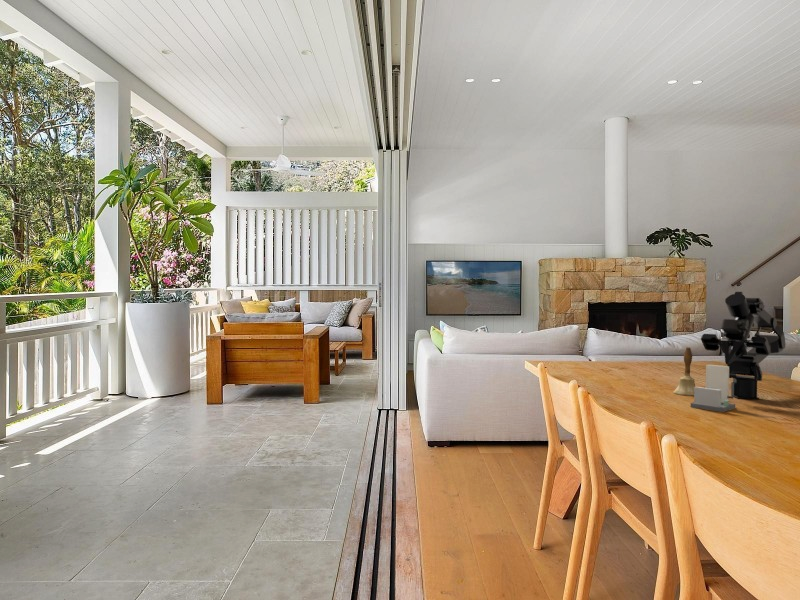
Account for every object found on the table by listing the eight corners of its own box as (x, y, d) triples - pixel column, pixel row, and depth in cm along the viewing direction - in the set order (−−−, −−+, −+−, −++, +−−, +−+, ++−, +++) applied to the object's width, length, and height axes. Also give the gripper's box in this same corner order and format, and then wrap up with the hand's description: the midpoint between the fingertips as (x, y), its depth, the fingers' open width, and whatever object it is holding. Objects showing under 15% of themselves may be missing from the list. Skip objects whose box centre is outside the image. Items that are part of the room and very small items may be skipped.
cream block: (702, 398, 174) (703, 363, 174) (733, 403, 168) (734, 367, 167) (700, 399, 173) (701, 364, 173) (731, 403, 167) (732, 367, 166)
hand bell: (694, 391, 195) (694, 346, 195) (704, 396, 187) (705, 349, 187) (669, 391, 196) (670, 346, 196) (678, 395, 188) (679, 348, 188)
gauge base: (703, 403, 175) (704, 383, 175) (735, 407, 168) (735, 387, 168) (690, 407, 169) (690, 386, 169) (722, 412, 162) (723, 390, 162)
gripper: (703, 309, 185) (688, 344, 179) (767, 311, 171) (754, 349, 164) (712, 332, 191) (698, 366, 184) (775, 335, 176) (763, 373, 169)
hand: (727, 363), depth 175 cm, fingers closed
